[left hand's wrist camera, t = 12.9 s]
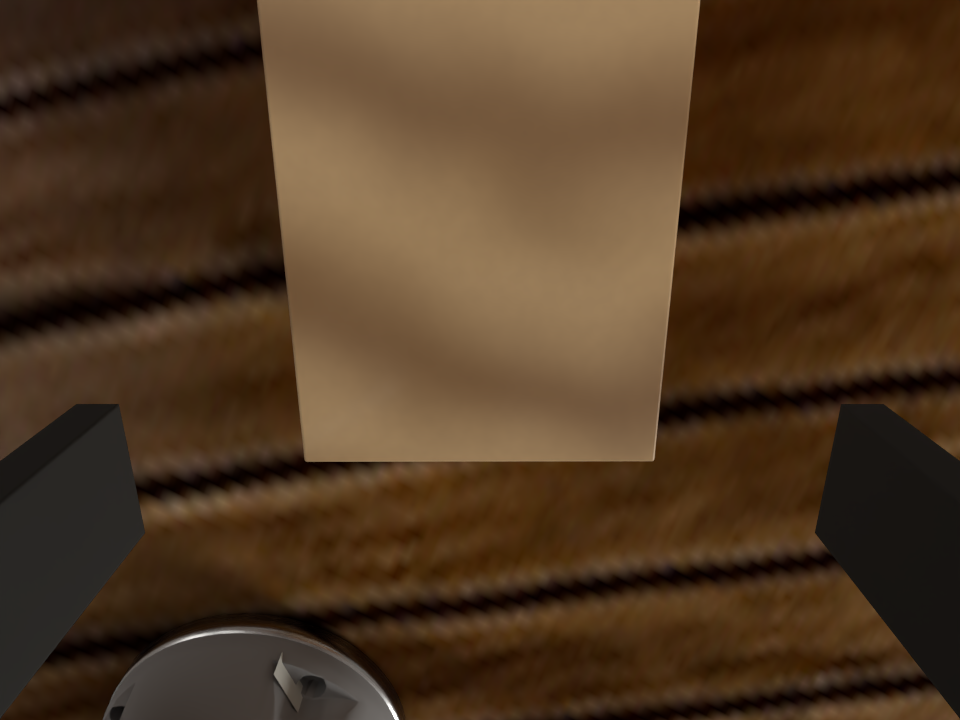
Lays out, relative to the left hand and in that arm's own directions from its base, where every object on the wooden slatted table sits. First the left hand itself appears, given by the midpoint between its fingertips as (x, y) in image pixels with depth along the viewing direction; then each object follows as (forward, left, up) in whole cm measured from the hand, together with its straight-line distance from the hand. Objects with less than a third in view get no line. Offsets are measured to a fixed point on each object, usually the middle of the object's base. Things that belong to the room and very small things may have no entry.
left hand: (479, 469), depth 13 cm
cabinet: (+1, +7, -16) cm, 17 cm away
